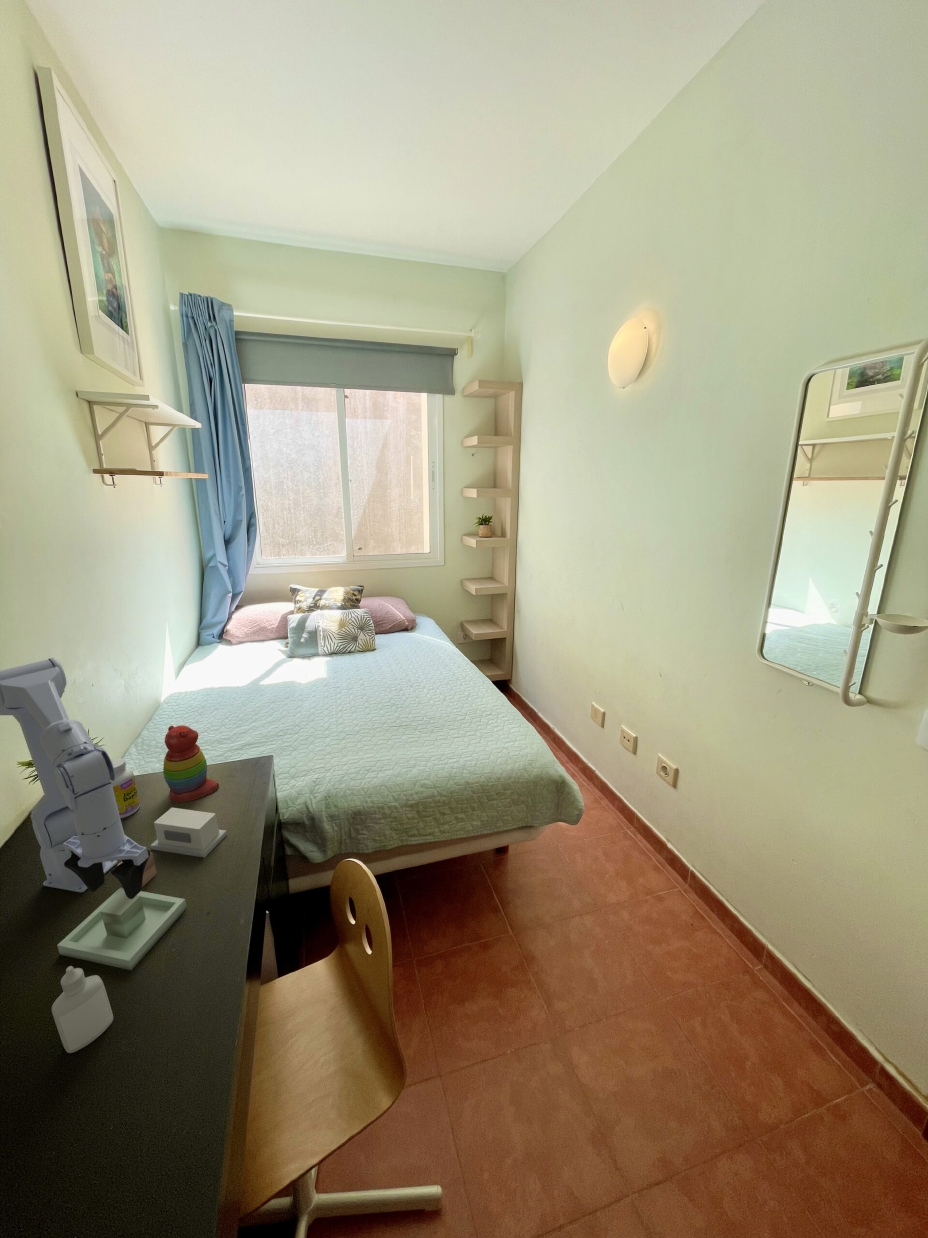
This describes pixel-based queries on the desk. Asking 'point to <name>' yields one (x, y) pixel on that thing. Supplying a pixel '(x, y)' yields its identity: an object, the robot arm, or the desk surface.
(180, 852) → the mounted unit
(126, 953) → the sage tray
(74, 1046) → the eye dropper bottle
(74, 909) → the desk surface
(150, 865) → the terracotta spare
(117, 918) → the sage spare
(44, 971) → the desk surface
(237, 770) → the desk surface
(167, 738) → the stacking bear
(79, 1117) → the desk surface
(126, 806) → the supplement bottle
